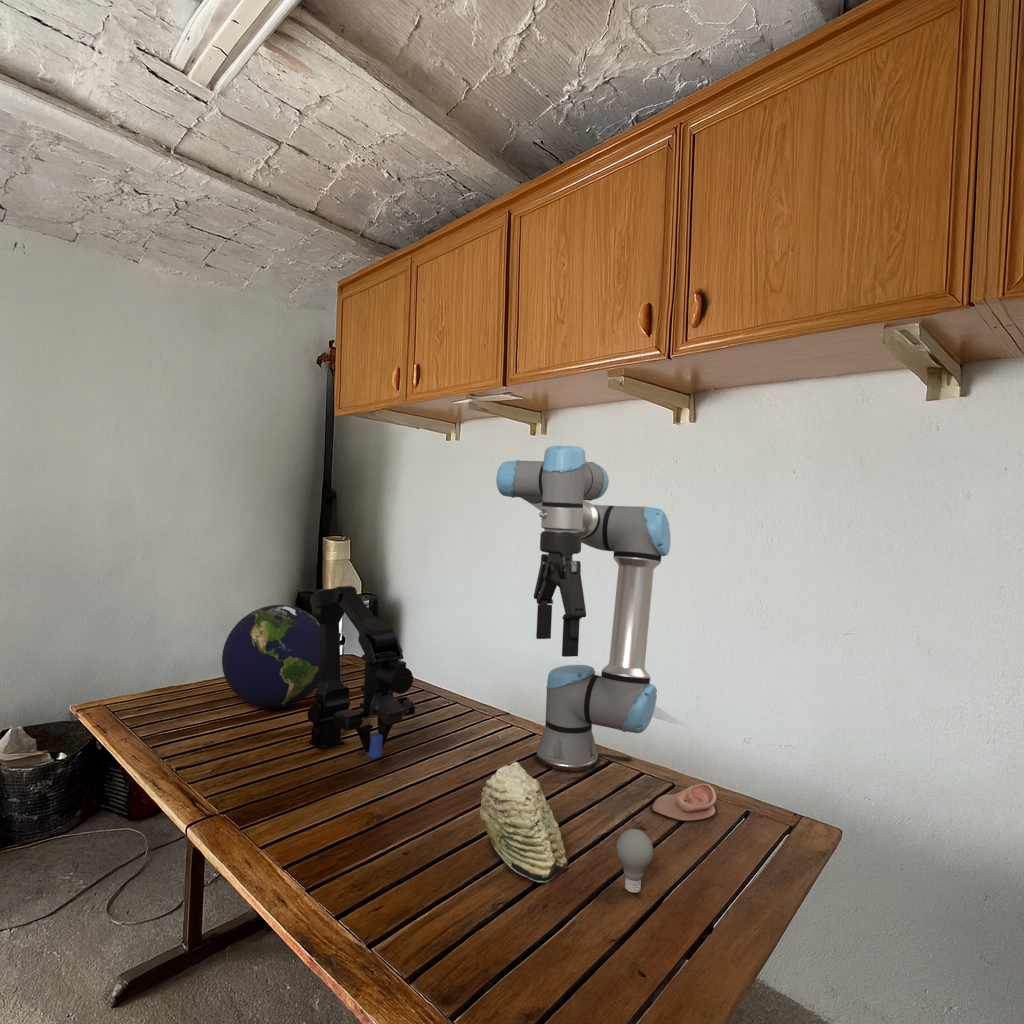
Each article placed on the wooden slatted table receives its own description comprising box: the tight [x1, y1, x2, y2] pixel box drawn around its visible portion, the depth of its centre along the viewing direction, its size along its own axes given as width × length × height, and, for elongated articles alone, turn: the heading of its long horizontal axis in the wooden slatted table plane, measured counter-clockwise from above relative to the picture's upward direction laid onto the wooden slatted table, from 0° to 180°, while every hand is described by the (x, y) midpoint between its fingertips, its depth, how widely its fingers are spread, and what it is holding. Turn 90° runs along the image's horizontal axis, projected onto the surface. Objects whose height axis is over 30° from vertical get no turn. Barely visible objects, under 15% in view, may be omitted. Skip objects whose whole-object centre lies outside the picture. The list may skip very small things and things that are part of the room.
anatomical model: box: [651, 783, 717, 822], centre depth 135 cm, size 13×4×12 cm
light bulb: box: [615, 828, 654, 894], centre depth 106 cm, size 6×6×10 cm
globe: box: [221, 604, 321, 709], centre depth 188 cm, size 30×30×30 cm
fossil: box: [479, 761, 569, 883], centre depth 114 cm, size 9×18×15 cm, turn 46°
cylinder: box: [366, 732, 384, 759], centre depth 146 cm, size 4×4×4 cm
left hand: (374, 749), depth 146 cm, fingers closed on cylinder, 3 cm apart
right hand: (555, 647), depth 116 cm, fingers open, 13 cm apart
